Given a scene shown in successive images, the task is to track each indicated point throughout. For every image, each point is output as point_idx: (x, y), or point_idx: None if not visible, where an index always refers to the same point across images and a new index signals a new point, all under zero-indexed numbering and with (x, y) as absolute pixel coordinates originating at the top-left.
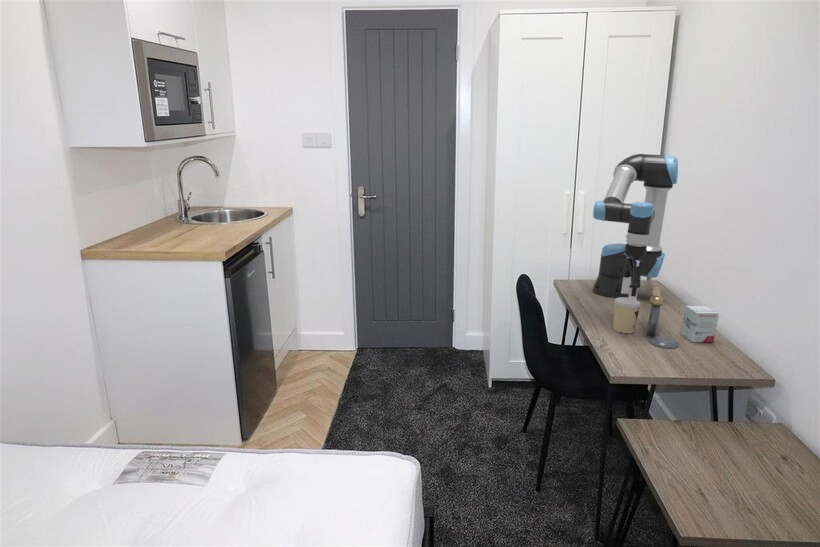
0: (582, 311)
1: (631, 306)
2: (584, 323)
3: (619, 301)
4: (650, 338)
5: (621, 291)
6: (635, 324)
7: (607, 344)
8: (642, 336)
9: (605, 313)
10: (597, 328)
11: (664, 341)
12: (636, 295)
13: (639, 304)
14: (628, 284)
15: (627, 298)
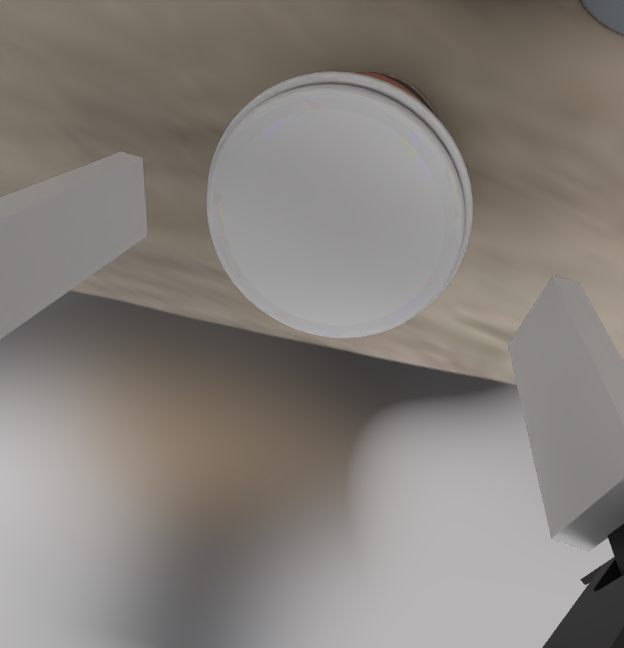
0: (109, 266)
1: (465, 248)
2: (282, 326)
3: (345, 320)
4: (603, 3)
5: (127, 241)
6: (419, 93)
7: None
8: (507, 45)
9: (89, 144)
10: None
11: None
12: (620, 369)
13: (425, 124)
14: (55, 220)
15: (232, 191)
